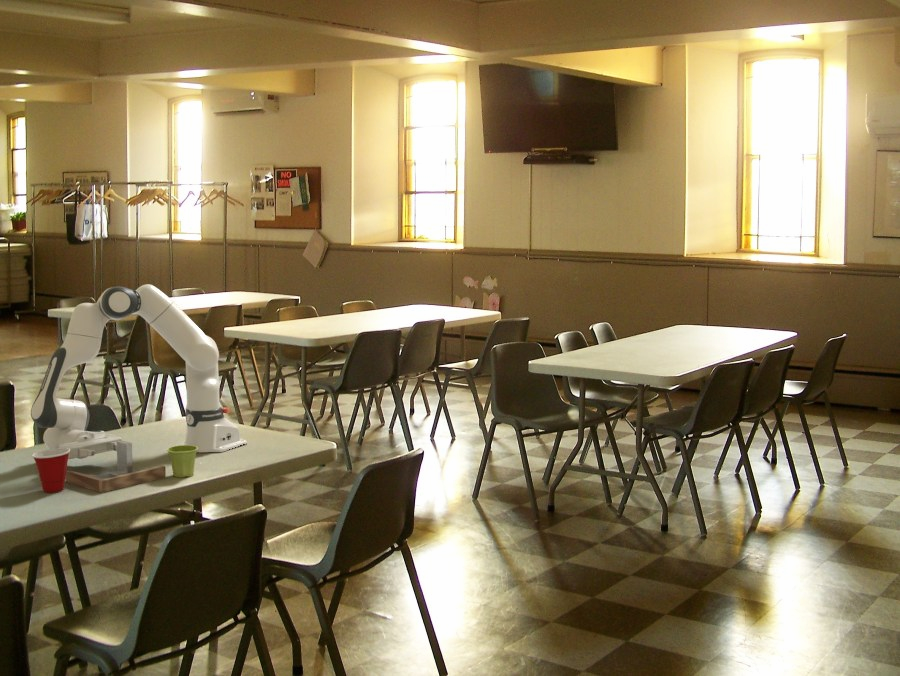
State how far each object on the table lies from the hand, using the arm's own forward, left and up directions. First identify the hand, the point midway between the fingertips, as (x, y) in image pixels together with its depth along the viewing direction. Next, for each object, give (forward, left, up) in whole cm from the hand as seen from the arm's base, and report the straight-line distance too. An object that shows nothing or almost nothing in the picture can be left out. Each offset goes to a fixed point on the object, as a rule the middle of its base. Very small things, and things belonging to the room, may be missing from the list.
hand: (105, 450), depth 340 cm
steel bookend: (+1, +10, -7) cm, 12 cm away
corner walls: (+2, +9, -7) cm, 12 cm away
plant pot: (-14, +21, -7) cm, 26 cm away
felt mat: (+2, +9, -7) cm, 11 cm away
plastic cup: (+22, +5, -7) cm, 24 cm away
